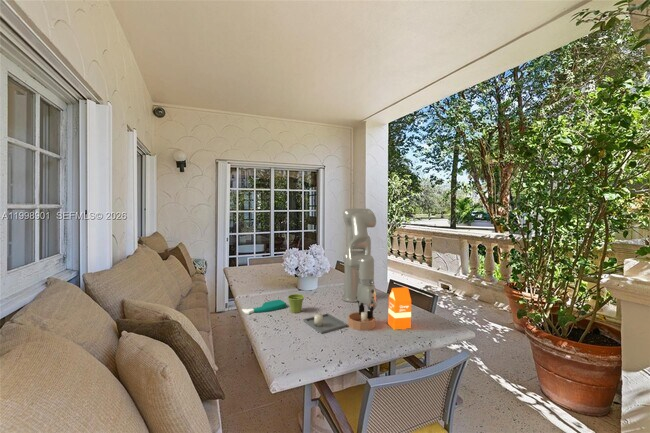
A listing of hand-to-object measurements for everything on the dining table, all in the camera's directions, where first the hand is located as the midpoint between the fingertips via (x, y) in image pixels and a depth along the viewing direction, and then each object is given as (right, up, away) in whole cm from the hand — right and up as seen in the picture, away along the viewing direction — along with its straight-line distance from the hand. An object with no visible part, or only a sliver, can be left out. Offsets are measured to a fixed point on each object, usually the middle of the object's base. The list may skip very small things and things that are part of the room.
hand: (365, 315), depth 150 cm
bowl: (-3, -5, -2) cm, 5 cm away
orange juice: (+17, -5, -2) cm, 18 cm away
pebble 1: (-24, -4, -3) cm, 25 cm away
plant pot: (-38, -4, +17) cm, 42 cm away
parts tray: (-21, -4, -1) cm, 22 cm away
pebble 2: (0, -4, 0) cm, 4 cm away
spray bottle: (-56, -4, +20) cm, 60 cm away
